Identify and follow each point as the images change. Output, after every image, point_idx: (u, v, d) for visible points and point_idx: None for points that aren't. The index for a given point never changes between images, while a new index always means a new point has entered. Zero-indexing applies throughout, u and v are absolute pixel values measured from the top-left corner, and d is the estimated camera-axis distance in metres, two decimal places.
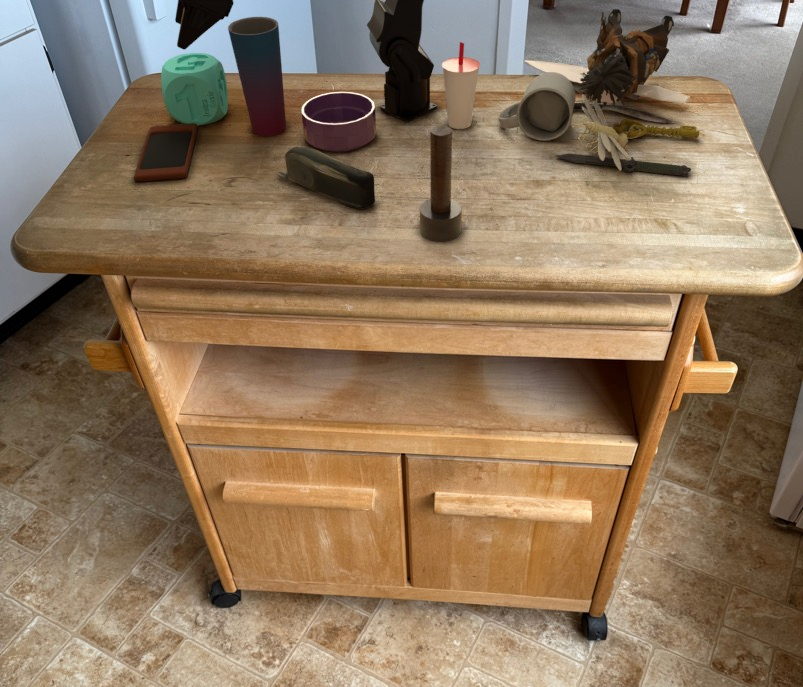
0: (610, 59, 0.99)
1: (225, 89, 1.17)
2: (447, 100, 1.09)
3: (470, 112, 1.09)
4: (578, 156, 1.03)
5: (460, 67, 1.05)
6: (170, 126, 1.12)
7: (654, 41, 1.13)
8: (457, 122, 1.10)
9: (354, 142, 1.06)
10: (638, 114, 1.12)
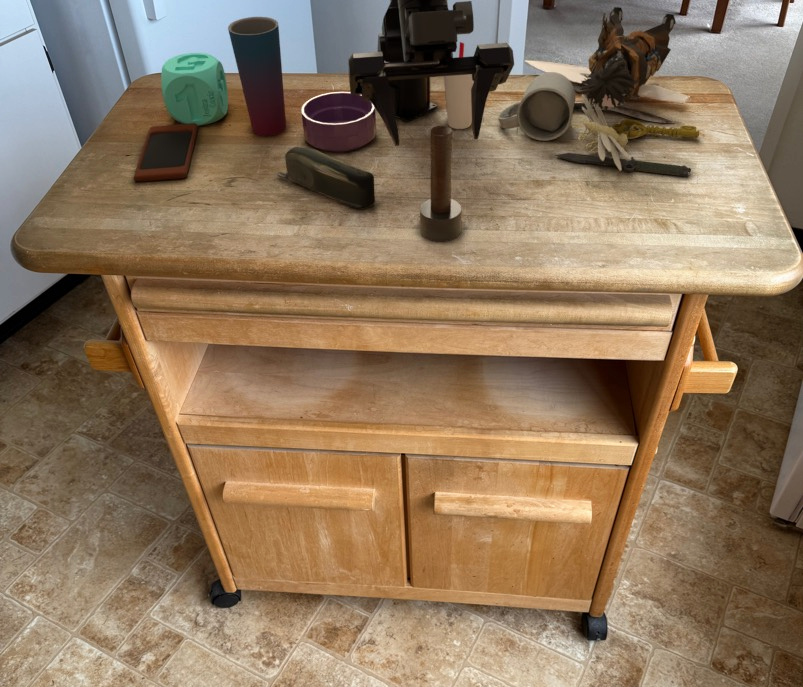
0: (611, 63, 0.99)
1: (225, 89, 1.17)
2: (447, 100, 1.09)
3: (470, 112, 1.09)
4: (578, 155, 1.03)
5: None
6: (170, 126, 1.12)
7: (655, 41, 1.13)
8: (457, 122, 1.10)
9: (354, 142, 1.06)
10: (638, 114, 1.12)
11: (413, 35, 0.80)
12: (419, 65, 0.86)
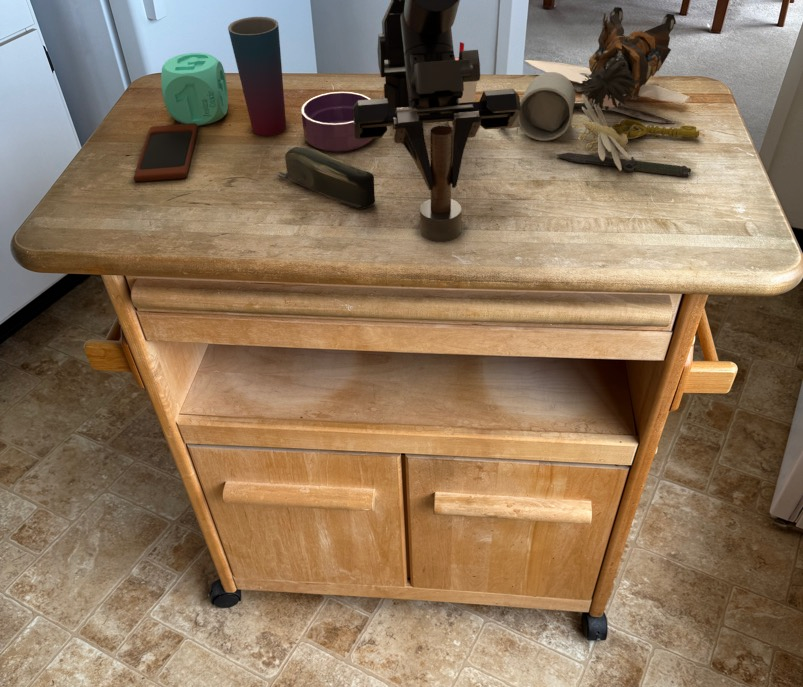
0: (612, 63, 0.99)
1: (225, 89, 1.17)
2: None
3: None
4: (578, 155, 1.03)
5: None
6: (170, 126, 1.12)
7: (656, 41, 1.13)
8: None
9: (354, 142, 1.06)
10: (638, 114, 1.12)
11: (419, 84, 0.79)
12: (424, 111, 0.85)
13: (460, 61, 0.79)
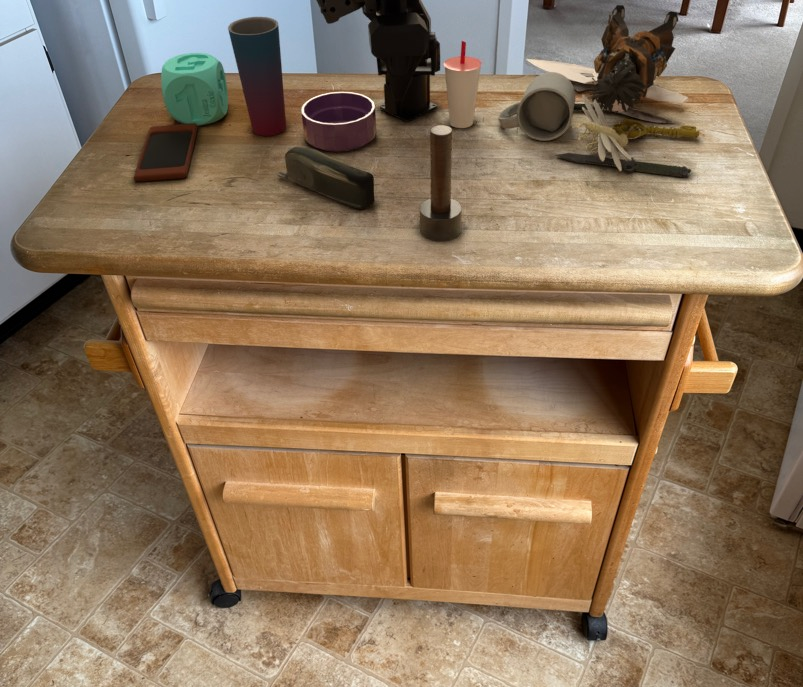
0: (621, 68, 0.99)
1: (225, 89, 1.17)
2: (448, 98, 1.09)
3: (471, 111, 1.10)
4: (578, 156, 1.03)
5: (461, 66, 1.06)
6: (170, 126, 1.12)
7: (660, 40, 1.12)
8: (458, 121, 1.10)
9: (354, 142, 1.06)
10: (638, 114, 1.12)
11: None
12: None
13: None
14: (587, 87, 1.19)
